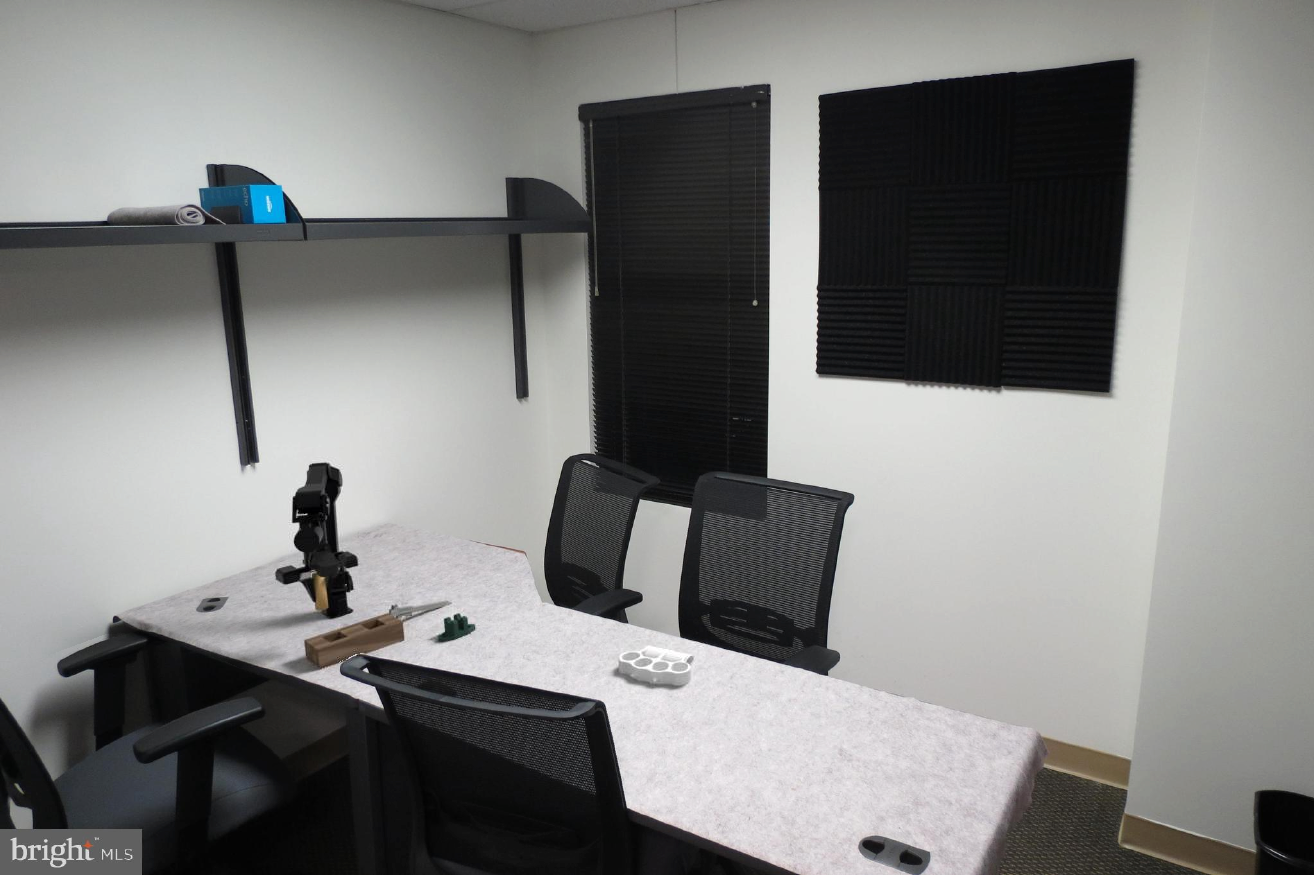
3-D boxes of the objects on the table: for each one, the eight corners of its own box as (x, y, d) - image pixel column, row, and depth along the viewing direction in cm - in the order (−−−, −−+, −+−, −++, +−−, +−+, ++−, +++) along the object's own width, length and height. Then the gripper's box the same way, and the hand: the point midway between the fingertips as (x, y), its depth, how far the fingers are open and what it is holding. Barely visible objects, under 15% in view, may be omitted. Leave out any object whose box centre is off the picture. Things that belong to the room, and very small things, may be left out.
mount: (443, 645, 225) (442, 626, 224) (433, 640, 228) (432, 622, 227) (479, 631, 233) (478, 613, 232) (469, 626, 236) (468, 608, 235)
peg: (313, 608, 223) (309, 573, 222) (325, 604, 225) (321, 570, 224) (318, 611, 221) (314, 576, 219) (330, 607, 223) (326, 573, 221)
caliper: (391, 629, 235) (389, 607, 234) (389, 628, 236) (387, 606, 235) (452, 604, 251) (450, 583, 250) (449, 603, 252) (447, 582, 250)
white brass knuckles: (706, 666, 210) (678, 694, 198) (639, 652, 219) (608, 678, 206) (705, 653, 210) (677, 680, 197) (638, 639, 218) (607, 664, 205)
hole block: (306, 659, 219) (304, 639, 218) (389, 631, 234) (387, 613, 233) (320, 669, 213) (318, 650, 212) (404, 640, 228) (402, 621, 227)
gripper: (289, 556, 208) (296, 620, 211) (365, 538, 220) (371, 598, 223) (271, 546, 216) (278, 607, 219) (345, 529, 228) (351, 587, 231)
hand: (321, 600), depth 223 cm, fingers closed on peg, 3 cm apart
